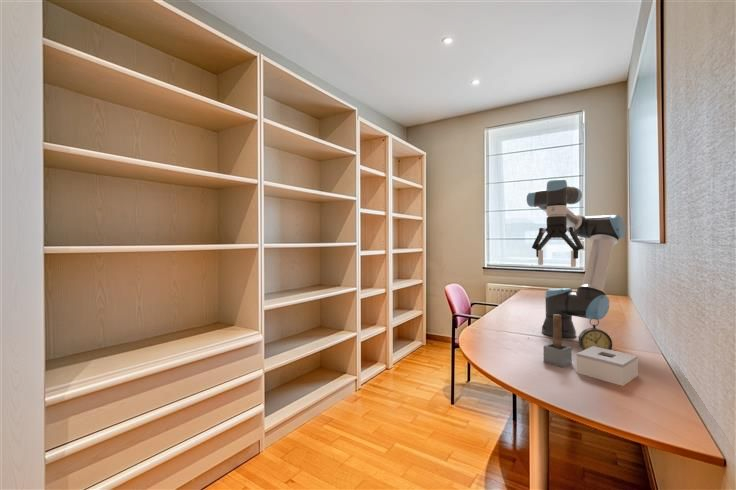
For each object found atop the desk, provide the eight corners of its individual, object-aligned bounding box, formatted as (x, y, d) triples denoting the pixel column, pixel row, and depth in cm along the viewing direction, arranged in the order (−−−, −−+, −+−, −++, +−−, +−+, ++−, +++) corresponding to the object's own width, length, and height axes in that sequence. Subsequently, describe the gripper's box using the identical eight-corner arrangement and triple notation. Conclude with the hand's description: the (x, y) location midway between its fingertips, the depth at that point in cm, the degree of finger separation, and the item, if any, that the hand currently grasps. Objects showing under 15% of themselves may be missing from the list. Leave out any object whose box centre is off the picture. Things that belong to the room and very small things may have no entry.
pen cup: (552, 358, 138) (552, 342, 138) (571, 363, 132) (571, 347, 132) (543, 361, 134) (543, 345, 134) (562, 367, 128) (562, 350, 128)
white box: (592, 364, 131) (593, 346, 131) (637, 375, 120) (637, 355, 120) (576, 372, 123) (576, 353, 123) (622, 385, 112) (623, 364, 112)
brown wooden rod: (555, 359, 135) (555, 313, 135) (562, 361, 133) (562, 315, 133) (551, 360, 133) (551, 314, 133) (559, 362, 131) (559, 316, 131)
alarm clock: (581, 358, 137) (581, 318, 137) (577, 354, 143) (577, 315, 142) (612, 361, 134) (613, 320, 134) (607, 356, 139) (607, 317, 139)
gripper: (523, 217, 154) (523, 264, 154) (584, 214, 134) (584, 268, 134) (532, 218, 159) (532, 263, 159) (592, 214, 138) (592, 267, 139)
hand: (556, 265), depth 147 cm, fingers open, 13 cm apart
